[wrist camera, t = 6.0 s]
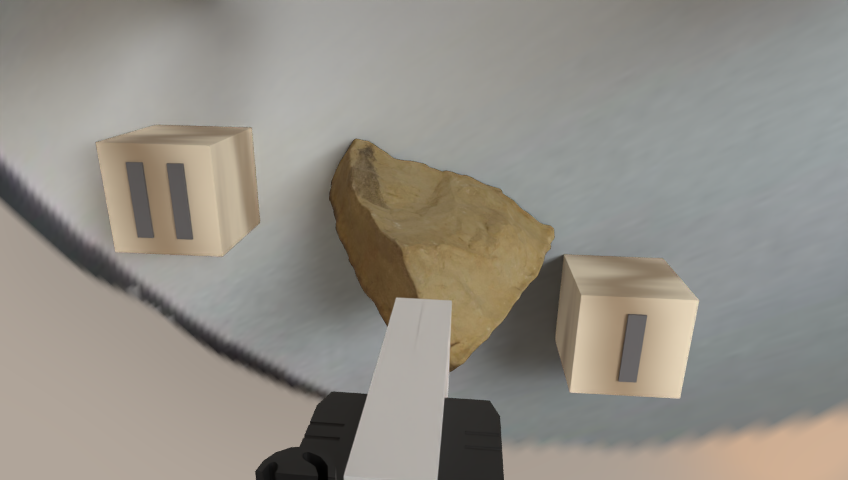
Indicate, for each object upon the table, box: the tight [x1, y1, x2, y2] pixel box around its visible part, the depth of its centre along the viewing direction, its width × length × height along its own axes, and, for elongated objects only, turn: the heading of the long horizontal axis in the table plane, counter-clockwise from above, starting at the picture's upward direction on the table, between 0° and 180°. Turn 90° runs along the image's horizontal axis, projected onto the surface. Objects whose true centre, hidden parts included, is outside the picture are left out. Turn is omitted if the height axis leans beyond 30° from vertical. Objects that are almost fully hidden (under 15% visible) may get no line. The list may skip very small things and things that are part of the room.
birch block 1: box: [96, 125, 260, 257], centre depth 27 cm, size 5×5×5 cm
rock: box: [329, 139, 555, 372], centre depth 26 cm, size 11×9×10 cm
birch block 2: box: [555, 254, 699, 398], centre depth 28 cm, size 5×5×5 cm
